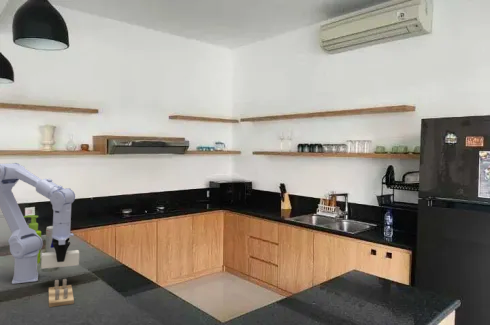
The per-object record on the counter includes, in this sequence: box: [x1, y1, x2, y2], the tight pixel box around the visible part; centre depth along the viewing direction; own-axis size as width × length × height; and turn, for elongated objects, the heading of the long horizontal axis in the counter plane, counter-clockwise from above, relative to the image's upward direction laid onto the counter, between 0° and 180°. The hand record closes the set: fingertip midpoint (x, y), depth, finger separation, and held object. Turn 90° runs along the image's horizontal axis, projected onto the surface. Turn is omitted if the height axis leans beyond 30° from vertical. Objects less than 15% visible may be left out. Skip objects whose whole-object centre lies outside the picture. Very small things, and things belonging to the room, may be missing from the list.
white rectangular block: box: [40, 249, 80, 269], centre depth 131 cm, size 12×4×4 cm, turn 119°
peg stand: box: [48, 278, 75, 308], centre depth 120 cm, size 14×7×4 cm, turn 29°
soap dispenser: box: [23, 214, 42, 265], centre depth 153 cm, size 6×7×20 cm
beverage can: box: [44, 225, 56, 253], centre depth 156 cm, size 6×6×15 cm
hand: (60, 259), depth 131 cm, fingers closed on white rectangular block, 4 cm apart
